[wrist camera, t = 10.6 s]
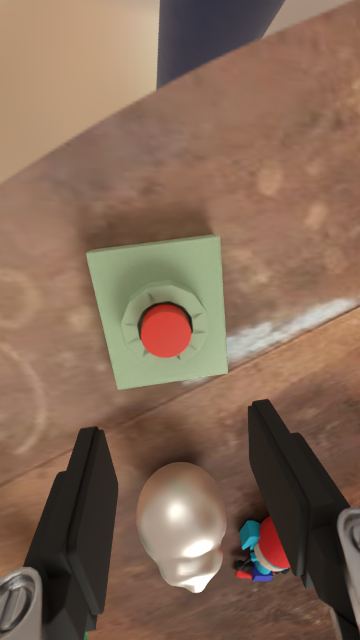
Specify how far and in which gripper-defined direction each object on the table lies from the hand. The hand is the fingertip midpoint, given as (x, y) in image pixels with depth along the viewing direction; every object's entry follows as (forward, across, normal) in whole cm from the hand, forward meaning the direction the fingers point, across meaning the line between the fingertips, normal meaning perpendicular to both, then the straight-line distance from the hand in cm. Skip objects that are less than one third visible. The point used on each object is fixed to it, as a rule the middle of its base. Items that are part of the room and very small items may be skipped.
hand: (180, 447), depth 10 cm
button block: (+15, 0, 0) cm, 15 cm away
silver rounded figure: (+16, +1, +20) cm, 25 cm away
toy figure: (+16, -9, +34) cm, 38 cm away
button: (+12, 0, 0) cm, 12 cm away
